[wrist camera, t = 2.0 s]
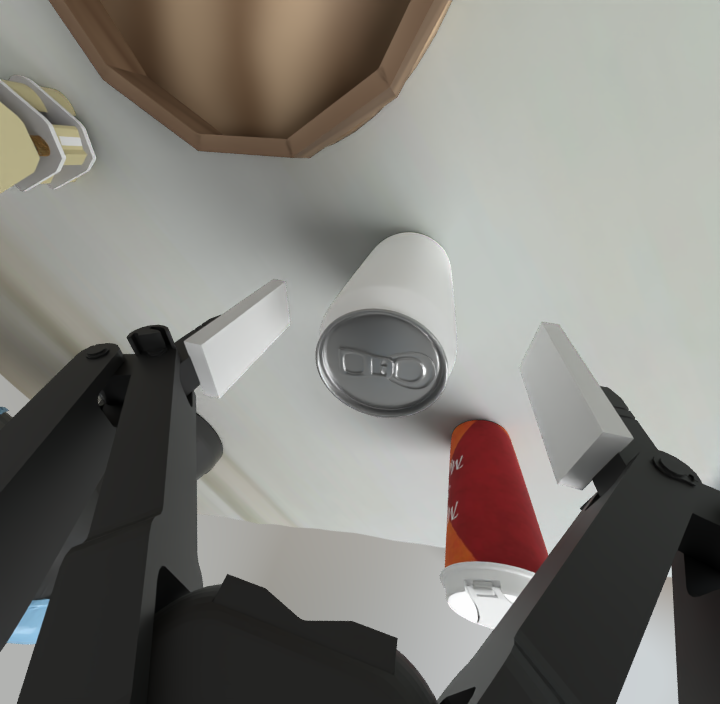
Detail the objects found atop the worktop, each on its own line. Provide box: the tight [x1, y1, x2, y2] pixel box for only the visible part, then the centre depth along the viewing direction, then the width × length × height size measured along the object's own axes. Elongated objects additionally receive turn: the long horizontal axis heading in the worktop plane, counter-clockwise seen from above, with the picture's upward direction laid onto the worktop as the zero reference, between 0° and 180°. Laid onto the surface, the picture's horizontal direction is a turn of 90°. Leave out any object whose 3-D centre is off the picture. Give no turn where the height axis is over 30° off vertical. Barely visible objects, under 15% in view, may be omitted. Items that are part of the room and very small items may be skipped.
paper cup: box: [440, 420, 548, 629], centre depth 23 cm, size 8×8×14 cm
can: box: [316, 232, 457, 418], centre depth 16 cm, size 6×6×12 cm
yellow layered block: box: [0, 75, 96, 193], centre depth 20 cm, size 10×9×6 cm
